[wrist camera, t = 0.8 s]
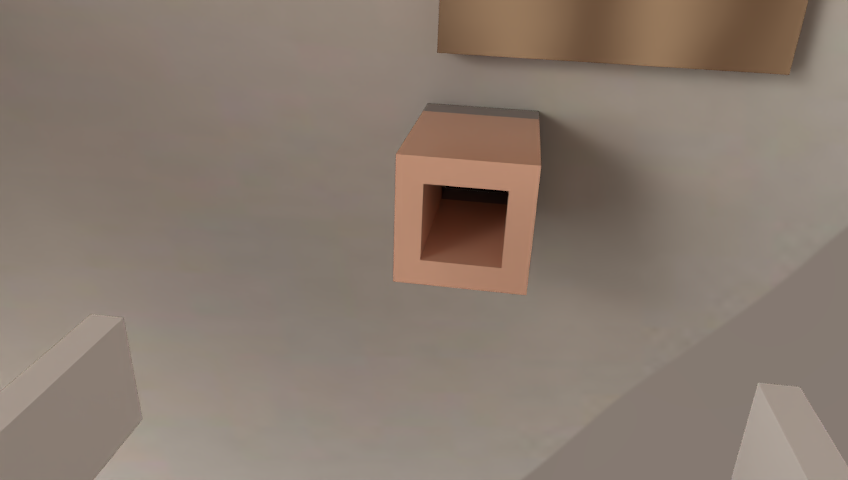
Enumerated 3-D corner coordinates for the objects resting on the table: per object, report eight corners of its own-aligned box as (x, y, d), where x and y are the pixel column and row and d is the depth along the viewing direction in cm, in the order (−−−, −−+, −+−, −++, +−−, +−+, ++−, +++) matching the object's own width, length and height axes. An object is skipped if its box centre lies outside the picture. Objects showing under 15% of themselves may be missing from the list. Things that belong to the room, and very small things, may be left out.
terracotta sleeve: (423, 205, 33) (393, 281, 25) (427, 103, 30) (396, 154, 23) (527, 214, 32) (526, 294, 25) (538, 111, 30) (541, 165, 23)
